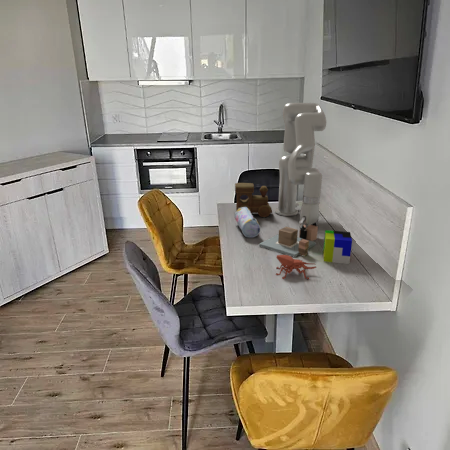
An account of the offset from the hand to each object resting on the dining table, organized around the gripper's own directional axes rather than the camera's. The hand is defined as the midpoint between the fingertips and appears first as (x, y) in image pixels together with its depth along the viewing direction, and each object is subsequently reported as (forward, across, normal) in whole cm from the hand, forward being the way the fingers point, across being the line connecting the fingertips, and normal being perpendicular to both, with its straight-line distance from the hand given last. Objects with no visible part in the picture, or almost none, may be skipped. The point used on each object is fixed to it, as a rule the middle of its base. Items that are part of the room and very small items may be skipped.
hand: (308, 235), depth 184 cm
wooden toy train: (+2, -12, -40) cm, 42 cm away
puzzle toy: (+2, +11, +19) cm, 22 cm away
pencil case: (+2, +10, -28) cm, 30 cm away
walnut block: (0, +13, -3) cm, 13 cm away
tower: (+2, +17, +7) cm, 18 cm away
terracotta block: (+2, 0, 0) cm, 2 cm away
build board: (+2, +13, -3) cm, 13 cm away
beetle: (+2, +34, +13) cm, 37 cm away
